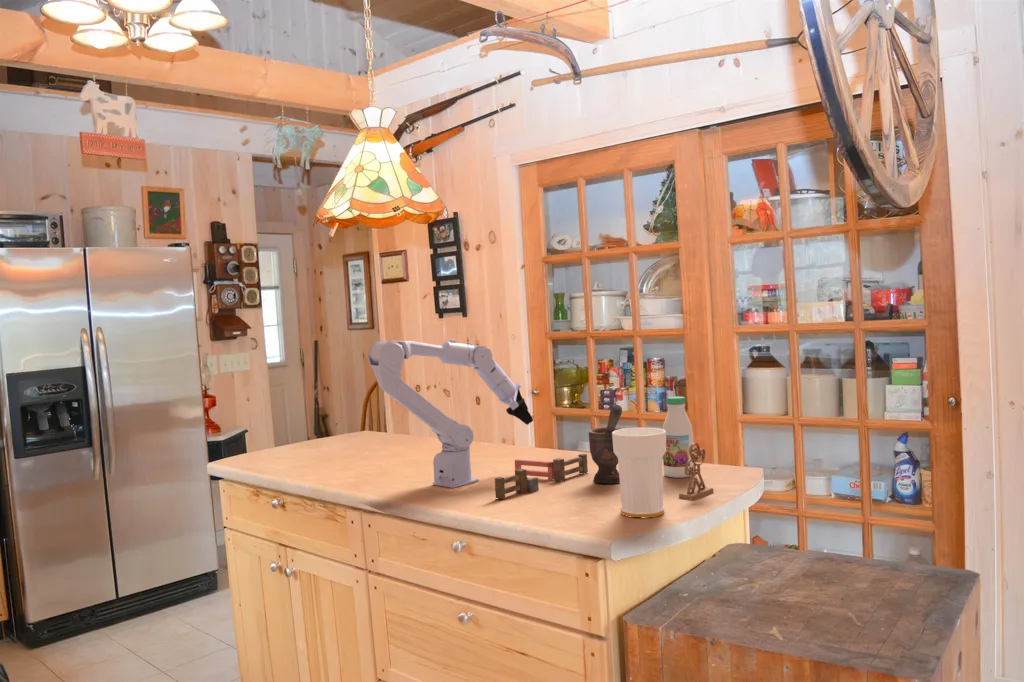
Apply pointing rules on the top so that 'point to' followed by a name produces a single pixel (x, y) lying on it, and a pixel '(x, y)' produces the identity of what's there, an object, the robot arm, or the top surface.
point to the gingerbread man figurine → (692, 491)
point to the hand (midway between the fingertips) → (527, 416)
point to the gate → (533, 472)
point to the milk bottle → (677, 438)
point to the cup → (640, 469)
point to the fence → (532, 484)
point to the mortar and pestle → (605, 449)
